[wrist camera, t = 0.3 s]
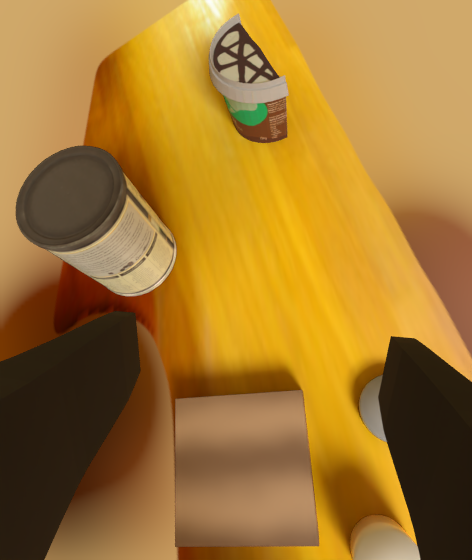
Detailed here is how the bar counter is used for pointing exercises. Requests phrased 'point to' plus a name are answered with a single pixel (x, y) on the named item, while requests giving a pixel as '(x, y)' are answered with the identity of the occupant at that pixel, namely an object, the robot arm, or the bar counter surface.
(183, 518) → the walnut block
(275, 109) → the food container
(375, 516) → the cream glossy cylinder
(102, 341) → the robot arm
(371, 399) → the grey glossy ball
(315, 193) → the bar counter surface
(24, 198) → the coffee can
